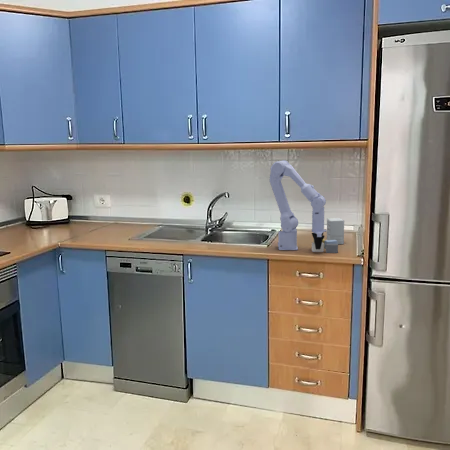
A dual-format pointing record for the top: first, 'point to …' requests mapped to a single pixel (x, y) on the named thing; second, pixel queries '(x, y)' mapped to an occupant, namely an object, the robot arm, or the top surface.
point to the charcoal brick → (331, 248)
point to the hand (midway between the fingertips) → (317, 248)
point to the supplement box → (335, 230)
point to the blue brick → (329, 242)
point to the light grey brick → (317, 249)
